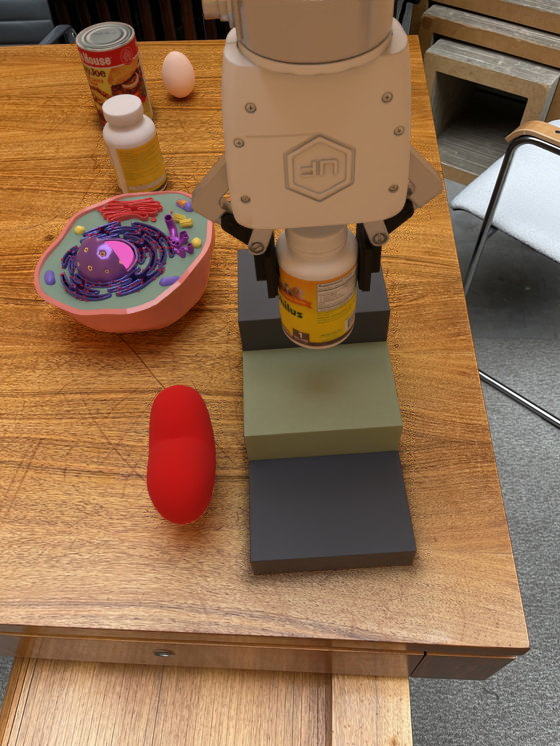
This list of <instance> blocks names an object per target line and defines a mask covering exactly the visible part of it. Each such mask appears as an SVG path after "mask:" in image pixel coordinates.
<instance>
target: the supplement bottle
mask: <svg viewBox="0 0 560 746" xmlns="http://www.w3.org/2000/svg"><path fill="white" fill-rule="evenodd" d="M358 256H359V246H358V242H357V239H356V234H355V233H354V232H353V230H351V229H350V228H349V227H348V224H343V225H329V226H316V227H302V228H288V229H283V231H282V232H281V233H280V234H279V235H278V237H277V239H276V242H275V257H276V269H277V281H278V294H279V305H280V317H281V324H282V328H283V330H284V332H285V334H286V335H287V336H288V338H289V339H290V340H292V341H293V342H294V343H296V344H298V345H300V346H302V347H305V348H309V349H326V348H330V347H333V346H335V345H337V344H339V343H341V342H342V341H344V340H345V339H346V338H347V337H348V336H349V334H350V333H351V331H352V329H353V326H354V321H355V309H356V291H357V273H358Z"/></svg>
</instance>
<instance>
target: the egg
mask: <svg viewBox="0 0 560 746" xmlns="http://www.w3.org/2000/svg"><path fill="white" fill-rule="evenodd" d="M161 79H162V82H163V85H164V88H165V89H166V91H167V92H168V93H169V94H170V95H172V96H173V97H176V98H178V99H183V98H186V97H187V96H189V95H190V94H191V93H192V91H193V89H194V87H195V84H196V83H195V82H196V76H195V71H194V68H193V65H192V62H190V60H189V59H188V57H187V56H186V55H185V54H183V53H182V52H181V51H176V50H174V51H171V52H168V54H167V55H166V56H165V58H164V60H163V62H162V67H161Z"/></svg>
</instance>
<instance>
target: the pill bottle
mask: <svg viewBox="0 0 560 746" xmlns="http://www.w3.org/2000/svg"><path fill="white" fill-rule="evenodd" d="M102 110H103V114H104V118H105V120H106V121H107V123H106V125H105V127H104V128H103V130H102V138H103V142H104V146H105V149H106V152H107V154H108V159H109V161H110V164H111V167H112V170H113V173H114V177H115V180H116V183H117V186H118V189H119V191H120V192H121V194H127V193H141V192H156V191H165V189H166V187H167V185H168V176H167V171H166V170H167V169H166V167H165V162H164V157H163V154H162V150H161V146H160V141H159V137H158V132H157V129H156V128H157V127H156V125H155V123H154V121H153V120H151V119H150V118H149V117H147V116H146V115H144V114H143V113H144V110H143V106H142V102H141V100H140V99H139V98H138V97H137V96H134V95H129V94H124V95H118V96H114V97H112V98H110V99H108V100H107V101H105V102H104V104H103V106H102Z"/></svg>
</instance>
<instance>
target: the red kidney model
mask: <svg viewBox="0 0 560 746" xmlns="http://www.w3.org/2000/svg"><path fill="white" fill-rule="evenodd" d="M212 424H213V423H212V420H211V416H210V412H209V410H208V407H207V404H206V402H205V399H204V398H203V397H202V395H201V394H200V393H199V391H197V390H196V389H195V388H193V387H191V386H189V385H186V384H185V385H184V384H173V385H170V386H168V387H166V388H164V389H162V390H161V391H159V393H158V394H157V395H156V396H155V398H154V399H153V402H152V404H151V408H150V413H149V424H148V457H147V466H146V489H147V494H148V496H149V499H150V501H151V503H152V505H153V507H154V509H155V510H156V512H157V513H158V514H159V515H160V516H161V517H162V519H164V520H166V521H167V522H169V523H171V524H174V525H178V526H179V525H183V526H184V525H189V524H192V523H194V522H196V521H198V520H199V519H200V518H201V517H202V516H203V515H204V514H205V512H206V511H207V510H208V507H209V505H210V503H211V500H212V498H213V494H214V488H215V483H216V475H217V450H216V440H215V439H216V438H215V434H214V429H213V425H212Z"/></svg>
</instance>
